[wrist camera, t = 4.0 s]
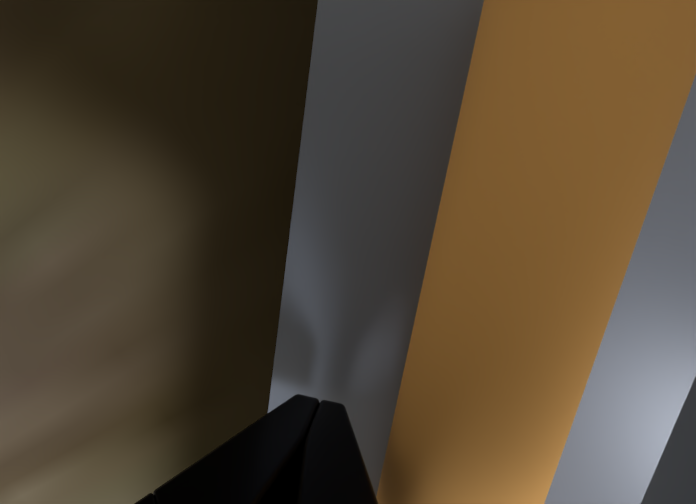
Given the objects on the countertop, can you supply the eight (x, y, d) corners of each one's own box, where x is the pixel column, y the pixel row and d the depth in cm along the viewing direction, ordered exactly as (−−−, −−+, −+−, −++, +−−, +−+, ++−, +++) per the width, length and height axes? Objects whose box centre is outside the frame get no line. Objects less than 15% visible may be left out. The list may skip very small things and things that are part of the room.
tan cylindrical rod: (481, -19, 7) (507, -60, 5) (665, 9, 7) (780, -22, 5) (336, 662, 12) (314, 804, 10) (446, 690, 12) (451, 842, 10)
